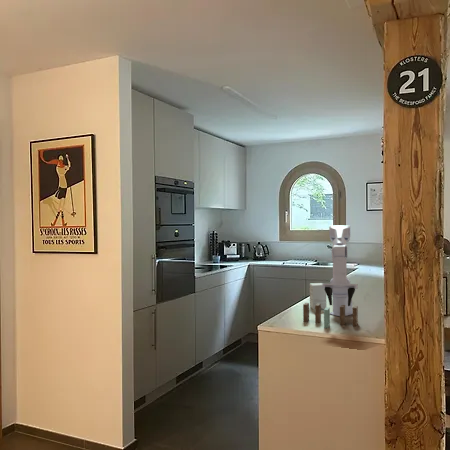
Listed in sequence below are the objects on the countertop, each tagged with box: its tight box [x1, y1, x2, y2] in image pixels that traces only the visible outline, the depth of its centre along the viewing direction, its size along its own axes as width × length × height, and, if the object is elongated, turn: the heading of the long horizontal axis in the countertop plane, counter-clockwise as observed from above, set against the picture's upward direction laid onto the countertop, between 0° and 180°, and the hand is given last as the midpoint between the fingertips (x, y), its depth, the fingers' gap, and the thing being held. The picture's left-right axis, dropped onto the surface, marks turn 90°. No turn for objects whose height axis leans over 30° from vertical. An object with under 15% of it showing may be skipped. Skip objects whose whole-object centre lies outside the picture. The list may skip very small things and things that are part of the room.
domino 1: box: [302, 302, 310, 323], centre depth 216 cm, size 2×5×8 cm, turn 157°
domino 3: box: [323, 307, 331, 329], centre depth 204 cm, size 2×5×8 cm, turn 157°
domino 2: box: [314, 303, 322, 324], centre depth 214 cm, size 2×5×8 cm, turn 157°
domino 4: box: [339, 305, 346, 326], centre depth 209 cm, size 2×5×8 cm, turn 157°
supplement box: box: [309, 282, 328, 310], centre depth 245 cm, size 7×7×13 cm
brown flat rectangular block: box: [352, 305, 359, 327], centre depth 207 cm, size 2×5×8 cm, turn 157°
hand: (339, 305), depth 198 cm, fingers open, 7 cm apart
